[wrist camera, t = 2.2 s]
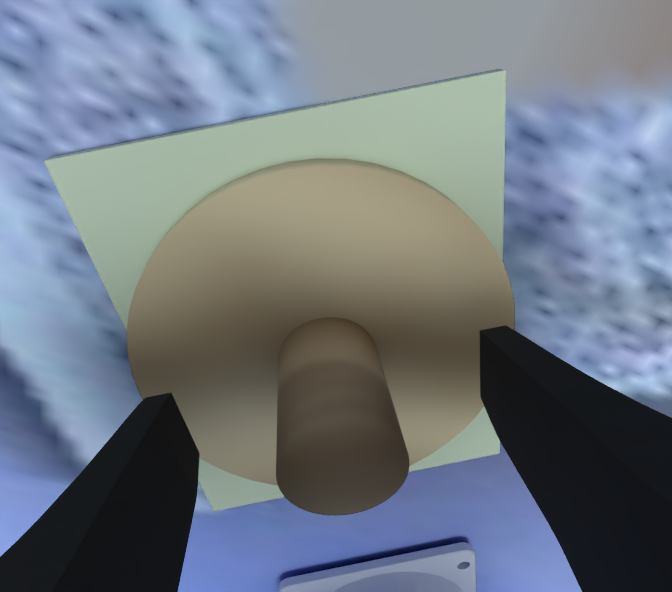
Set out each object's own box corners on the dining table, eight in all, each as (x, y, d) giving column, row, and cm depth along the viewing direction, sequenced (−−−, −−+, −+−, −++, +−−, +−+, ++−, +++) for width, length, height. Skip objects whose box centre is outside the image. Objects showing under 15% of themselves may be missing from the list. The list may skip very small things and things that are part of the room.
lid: (499, 435, 15) (571, 567, 11) (202, 491, 15) (174, 644, 11) (507, 120, 10) (640, 168, 6) (67, 203, 10) (-65, 301, 6)
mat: (494, 444, 16) (499, 453, 16) (214, 501, 16) (213, 511, 16) (498, 69, 10) (506, 70, 10) (52, 156, 10) (43, 160, 10)
